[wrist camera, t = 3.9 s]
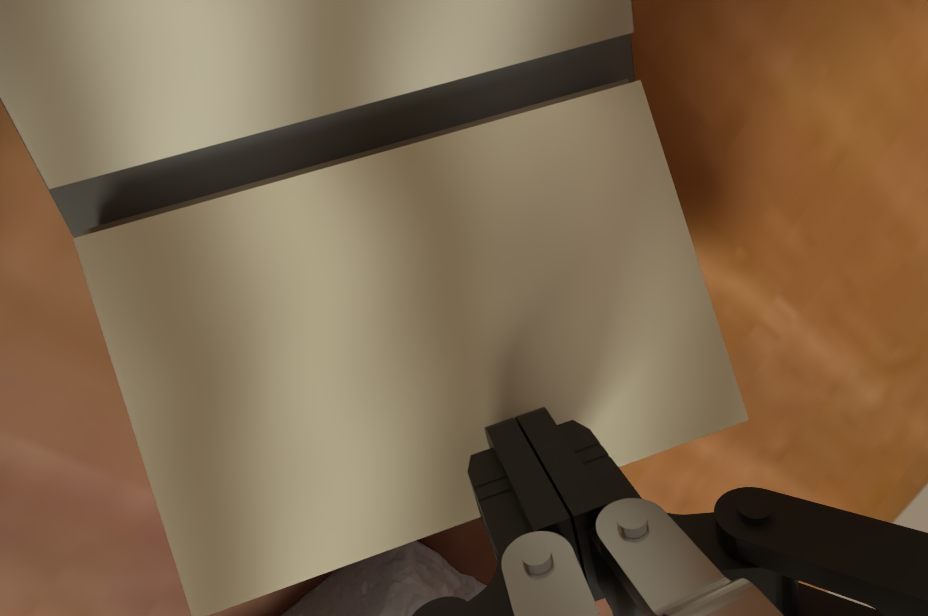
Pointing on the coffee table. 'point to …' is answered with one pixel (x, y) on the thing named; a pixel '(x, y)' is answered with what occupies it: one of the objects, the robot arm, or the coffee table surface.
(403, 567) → the stone block
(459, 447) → the beige flat rectangular panel
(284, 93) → the laid floor
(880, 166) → the coffee table surface
